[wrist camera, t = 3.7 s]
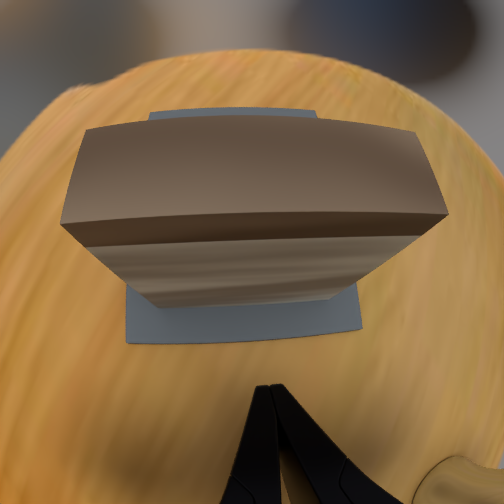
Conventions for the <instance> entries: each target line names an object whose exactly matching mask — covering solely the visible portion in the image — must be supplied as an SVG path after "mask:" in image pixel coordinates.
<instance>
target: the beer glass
mask: <svg viewBox="0 0 504 504" xmlns="http://www.w3.org/2000/svg"><path fill="white" fill-rule="evenodd" d="M413 504H504V469H493V468H486V467H483V466H480V465H478V464H476V463H474V462H473V461H471V460H469V459H467V458H465V457H463V456H453V457H449V458H447V459H445V460H444V461H442V462H441V463H439V464H438V465H437V466H436V467H434V468H433V469H432V470H431V471H430V472H429V474H428V475H427V476H426V477H425V478H424V480H423V481H422V483H421V484H420V486H419V488H418V490H417V492H416V494H415V496H414V500H413Z"/></svg>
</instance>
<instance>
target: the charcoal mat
mask: <svg viewBox="0 0 504 504" xmlns="http://www.w3.org/2000/svg"><path fill="white" fill-rule="evenodd" d="M219 115H269V116H293V117H308V118H317V116H316V113H315V111H314V110H302V109H286V108H258V107H226V108H198V109H182V110H170V111H159V112H150V115H149V119H148V120H157V119H167V118H180V117H195V116H219ZM360 329H363V328H362V320H361V312H360V305H359V298H358V292H357V285H356V282H355V283H354V284H352V285H351V286H349V287H347V288H346V289H344V290H343V291H341V292H340V293H338V294H337V295H335V296H334V297H332V298H330V299H328V300H316V301H304V302H291V303H277V304H262V305H244V306H224V307H197V308H157V307H156V306H155V305H153V304H152V303H151V302H149V301H148V300H147V299H146V298H144V297H143V296H142V295H140V294H139V293H138V292H137V291H135V290H134V289H133V288H132V287H130V286H129V285H128V284H127V289H126V343H132V344H202V343H228V342H246V341H261V340H274V339H285V338H296V337H306V336H315V335H323V334H331V333H339V332H346V331H353V330H360Z"/></svg>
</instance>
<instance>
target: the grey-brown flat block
mask: <svg viewBox="0 0 504 504" xmlns="http://www.w3.org/2000/svg"><path fill="white" fill-rule="evenodd" d="M447 215H449V213H448V210H447V207H446V204H445V202H444V199H443V196H442V193H441V191H440V188H439V185H438V183H437V180H436V178H435V175H434V173H433V171H432V168H431V166H430V163H429V161H428V159H427V157H426V154H425V152H424V150H423V148H422V146H421V144H420V142H419V139H418V137H417V135H416V133H415V132H411V131H406V130H400V129H395V128H389V127H383V126H377V125H371V124H364V123H357V122H349V121H340V120H331V119H320V118H308V117H293V116H269V115H219V116H195V117H180V118H167V119H157V120H147V121H139V122H131V123H124V124H117V125H111V126H105V127H99V128H93V129H88V130H86V132H85V135H84V138H83V140H82V143H81V146H80V149H79V152H78V155H77V159H76V162H75V165H74V168H73V172H72V175H71V179H70V183H69V186H68V190H67V194H66V198H65V202H64V207H63V211H62V216H61V220H60V225H61V226H62V227H63V228H64V229H66V230H67V231H68V232H69V233H70V234H71V235H72V236H73V237H74V238H75V239H76V240H77V241H78V242H79V243H81V244H82V245H83V246H84V247H85V248H86V249H87V250H88V251H89V252H90V253H92V254H93V255H94V256H95V257H96V258H97V259H98V260H100V261H101V262H102V263H103V264H104V265H105V266H106V267H108V268H109V269H110V270H111V271H112V272H114V273H115V274H116V275H117V276H118V277H119V278H121V279H122V280H123V281H124V282H126V283H127V284H128V285H129V286H130V287H132V288H133V289H134V290H135V291H137V292H138V293H139V294H140V295H142V296H143V297H144V298H146V299H147V300H148V301H149V302H151V303H152V304H153V305H155V306H156V307H157V308H197V307H224V306H244V305H262V304H277V303H291V302H304V301H316V300H328V299H330V298H332V297H334V296H335V295H337V294H338V293H340V292H341V291H343V290H344V289H346V288H347V287H349V286H351V285H352V284H354V283H355V282H357V281H358V280H360V279H361V278H363V277H364V276H366V275H367V274H369V273H370V272H371V271H373V270H374V269H376V268H377V267H379V266H380V265H382V264H383V263H384V262H386V261H387V260H389V259H390V258H392V257H393V256H394V255H396V254H397V253H399V252H400V251H401V250H403V249H404V248H405V247H407V246H408V245H410V244H411V243H412V242H414V241H415V240H416V239H418V238H419V237H420V236H422V235H423V234H424V233H426V232H427V231H428V230H430V229H431V228H432V227H433V226H435V225H436V224H437V223H439V222H440V221H441V220H442V219H444V218H445V217H446V216H447Z"/></svg>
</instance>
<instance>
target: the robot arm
mask: <svg viewBox="0 0 504 504" xmlns="http://www.w3.org/2000/svg"><path fill="white" fill-rule="evenodd" d="M280 469H281V473H282V476H283V479H284V483H285V486H286V489H287V493H288V496H289V499H290V503H291V504H403V503H402V502H400V501H399V500H398V499H396V498H395V497H393V496H392V495H391V494H389V493H388V492H387V491H385V490H384V489H382V488H381V487H380V486H378V485H377V484H376V483H375V482H373V481H372V480H371V479H370V478H369V477H367V476H366V475H365V474H364V473H363V472H362V471H361V470H360V469H359V468H358V467H357V466H356V465H355V464H354V463H353V462H352V461H351V460H350V459H349V458H347V456H346V455H345V454H344V453H343V452H342V451H341V450H340V448H339V447H338V446H337V445H336V444H335V443H334V442H333V441H332V440H331V439H330V438H329V437H328V435H327V434H326V433H325V432H324V431H323V430H322V429H321V428H320V427H319V425H318V424H317V423H316V422H315V421H314V420H313V419H312V418H311V416H310V415H309V414H308V413H307V412H306V411H305V410H304V408H303V407H302V406H301V405H300V404H299V403H298V401H297V400H296V399H295V398H294V397H293V396H292V394H291V393H290V392H289V391H288V390H287V389H286V387H285V386H284V385H283V384H272V385H270V386H268V385H261V386H256V387H255V391H254V394H253V398H252V402H251V405H250V409H249V412H248V416H247V419H246V423H245V426H244V430H243V433H242V436H241V440H240V443H239V447H238V450H237V453H236V457H235V460H234V463H233V466H232V470H231V473H230V476H229V479H228V482H227V485H226V488H225V491H224V493H223V496H222V499H221V501H220V503H219V504H282V503H281V480H280Z"/></svg>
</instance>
